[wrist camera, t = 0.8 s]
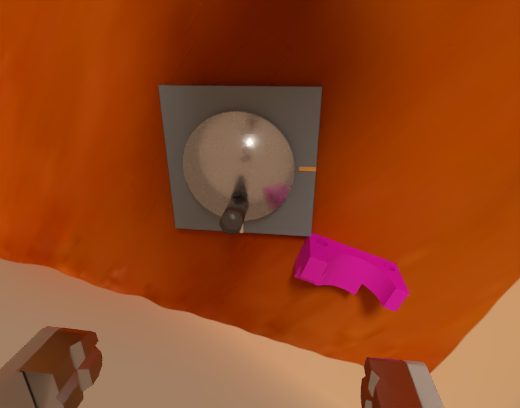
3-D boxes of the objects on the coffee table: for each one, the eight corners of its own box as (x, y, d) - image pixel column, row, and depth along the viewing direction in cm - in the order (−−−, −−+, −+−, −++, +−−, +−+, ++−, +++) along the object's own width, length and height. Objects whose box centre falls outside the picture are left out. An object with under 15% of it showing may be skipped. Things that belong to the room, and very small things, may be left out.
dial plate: (162, 84, 45) (157, 85, 44) (321, 86, 43) (322, 87, 41) (178, 224, 54) (175, 228, 53) (310, 231, 52) (311, 237, 50)
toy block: (295, 261, 55) (294, 289, 48) (309, 231, 52) (310, 256, 45) (377, 290, 55) (387, 323, 48) (395, 262, 52) (409, 292, 46)
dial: (181, 109, 44) (159, 117, 38) (297, 111, 43) (296, 120, 36) (191, 214, 51) (173, 237, 44) (292, 219, 49) (290, 245, 42)
